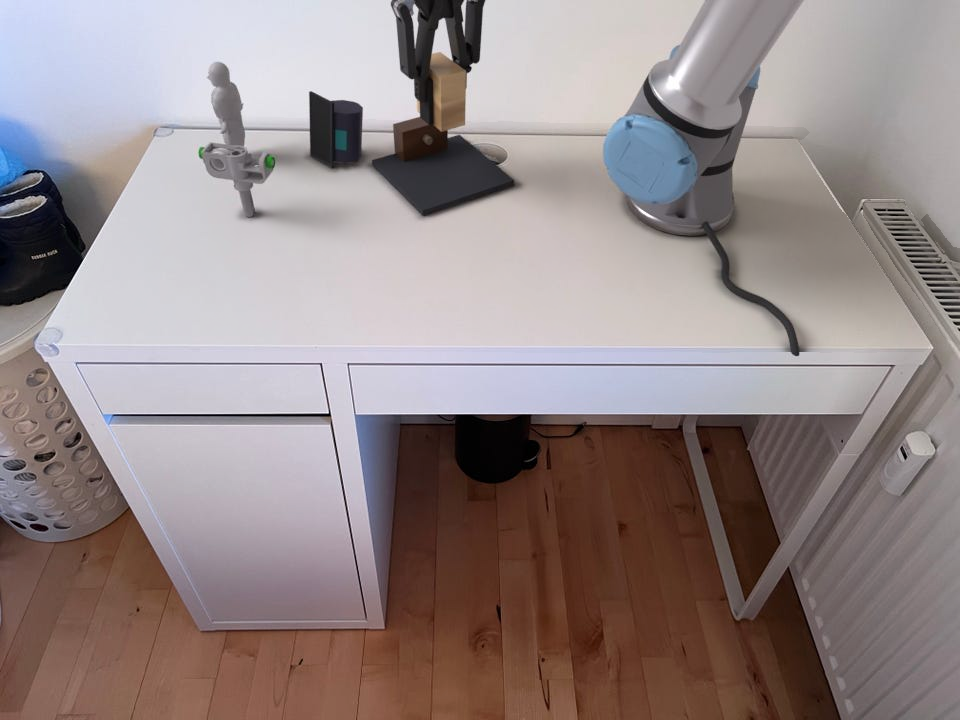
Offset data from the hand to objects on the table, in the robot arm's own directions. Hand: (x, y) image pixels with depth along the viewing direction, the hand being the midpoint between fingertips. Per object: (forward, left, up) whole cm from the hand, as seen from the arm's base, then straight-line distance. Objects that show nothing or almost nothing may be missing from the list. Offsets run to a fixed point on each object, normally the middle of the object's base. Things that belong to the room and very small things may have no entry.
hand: (441, 116), depth 108 cm
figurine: (+21, +25, -10) cm, 34 cm away
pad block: (0, 0, 0) cm, 0 cm away
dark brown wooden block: (+6, 0, -9) cm, 11 cm away
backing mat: (0, 0, -10) cm, 10 cm away
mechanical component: (+5, +29, -10) cm, 31 cm away
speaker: (+13, +11, -10) cm, 20 cm away
